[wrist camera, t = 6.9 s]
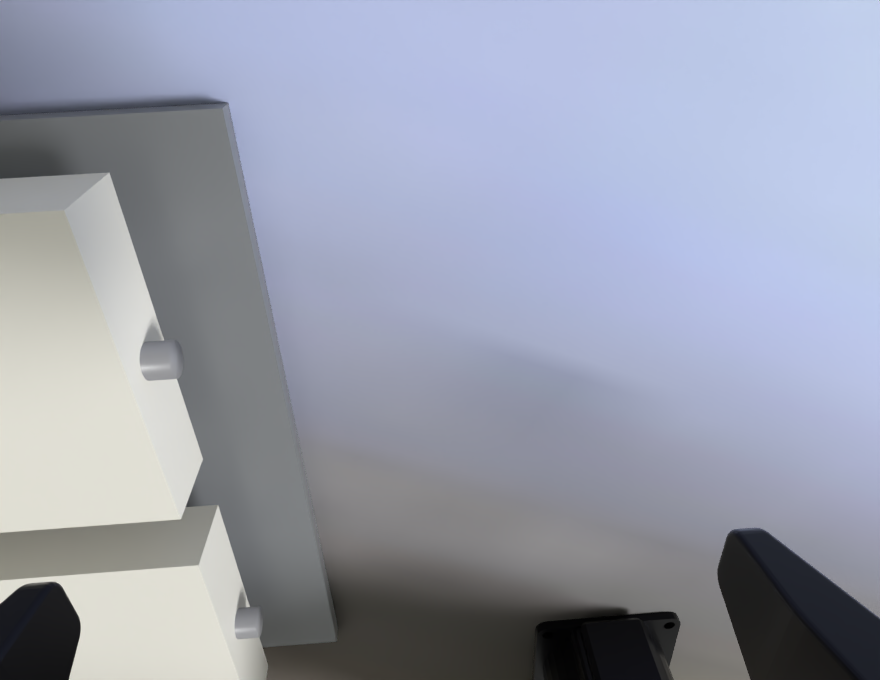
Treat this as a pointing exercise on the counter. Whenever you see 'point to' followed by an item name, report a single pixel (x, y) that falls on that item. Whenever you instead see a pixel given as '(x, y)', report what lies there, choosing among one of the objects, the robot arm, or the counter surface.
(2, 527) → the rocker
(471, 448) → the counter surface
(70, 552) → the block
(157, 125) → the switch base
